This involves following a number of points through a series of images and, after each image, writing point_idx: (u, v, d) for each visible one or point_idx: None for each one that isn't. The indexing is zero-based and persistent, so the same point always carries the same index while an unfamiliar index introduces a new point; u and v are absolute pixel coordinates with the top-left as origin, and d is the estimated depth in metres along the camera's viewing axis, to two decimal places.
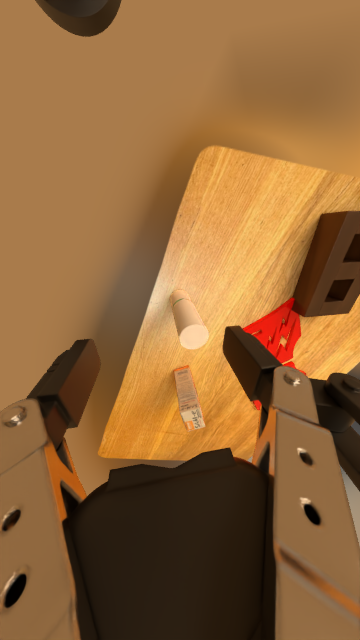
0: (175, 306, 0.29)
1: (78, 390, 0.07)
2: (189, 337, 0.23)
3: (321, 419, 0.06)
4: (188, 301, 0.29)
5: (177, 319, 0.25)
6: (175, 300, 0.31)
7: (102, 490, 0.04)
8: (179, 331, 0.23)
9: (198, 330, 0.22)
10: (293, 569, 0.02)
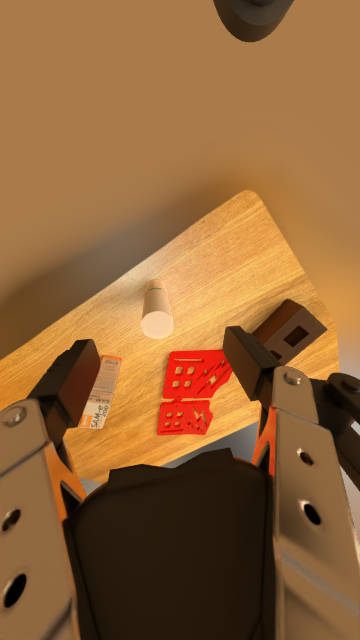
0: (152, 291, 0.27)
1: (78, 390, 0.07)
2: (153, 323, 0.21)
3: (321, 419, 0.06)
4: (166, 294, 0.28)
5: (149, 301, 0.23)
6: (154, 286, 0.29)
7: (102, 490, 0.04)
8: (147, 311, 0.21)
9: (165, 321, 0.21)
10: (293, 569, 0.02)
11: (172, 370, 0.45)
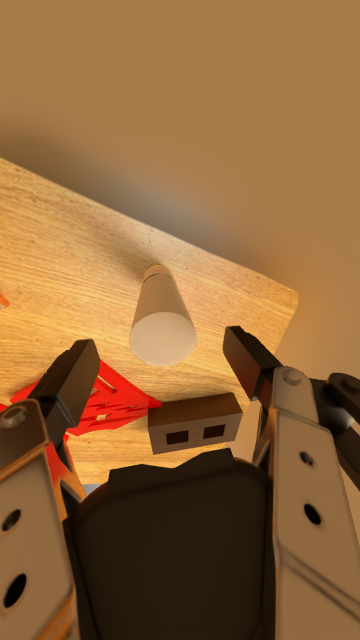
0: (171, 280, 0.17)
1: (79, 390, 0.07)
2: (164, 332, 0.10)
3: (321, 419, 0.06)
4: None
5: (172, 292, 0.13)
6: (171, 276, 0.19)
7: (102, 490, 0.04)
8: (172, 307, 0.10)
9: (181, 347, 0.11)
10: (293, 569, 0.02)
11: None
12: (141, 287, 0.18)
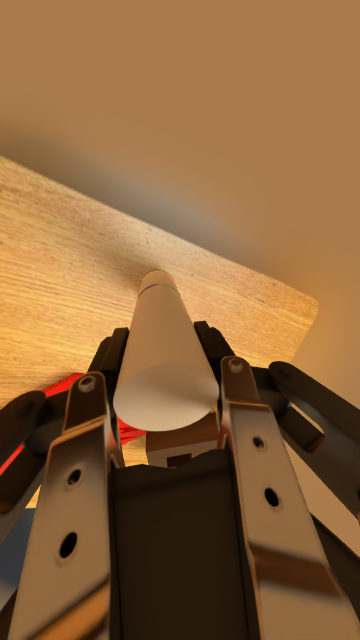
0: (175, 293, 0.13)
1: None
2: (169, 390, 0.06)
3: (261, 403, 0.07)
4: None
5: (178, 316, 0.09)
6: (174, 286, 0.15)
7: None
8: (182, 349, 0.06)
9: (194, 406, 0.07)
10: (293, 569, 0.02)
11: None
12: None
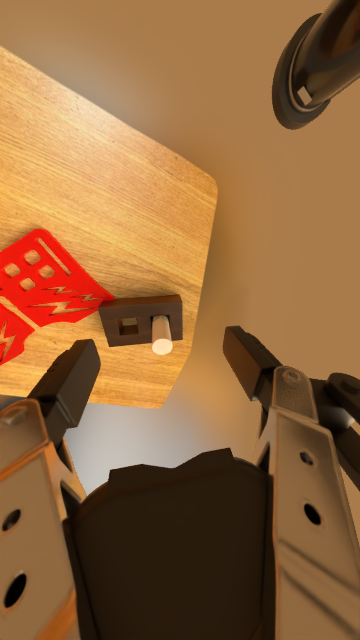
0: (165, 321, 0.40)
1: (79, 390, 0.07)
2: (162, 344, 0.34)
3: (321, 419, 0.06)
4: None
5: (165, 329, 0.36)
6: (165, 317, 0.43)
7: (102, 490, 0.04)
8: (164, 336, 0.34)
9: (167, 348, 0.34)
10: (293, 569, 0.02)
11: (24, 247, 0.34)
12: None
